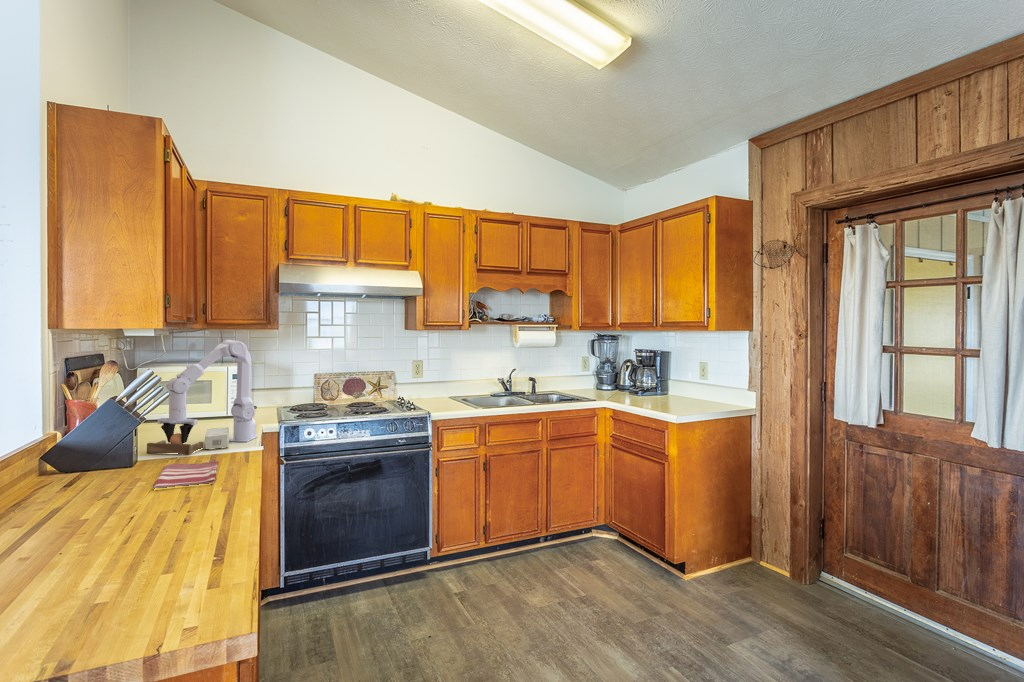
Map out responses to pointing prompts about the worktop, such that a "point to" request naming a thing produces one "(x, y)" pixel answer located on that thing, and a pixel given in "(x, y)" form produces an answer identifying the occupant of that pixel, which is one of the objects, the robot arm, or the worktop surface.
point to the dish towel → (187, 474)
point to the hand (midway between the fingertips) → (177, 442)
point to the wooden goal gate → (173, 447)
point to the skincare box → (217, 438)
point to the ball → (176, 439)
